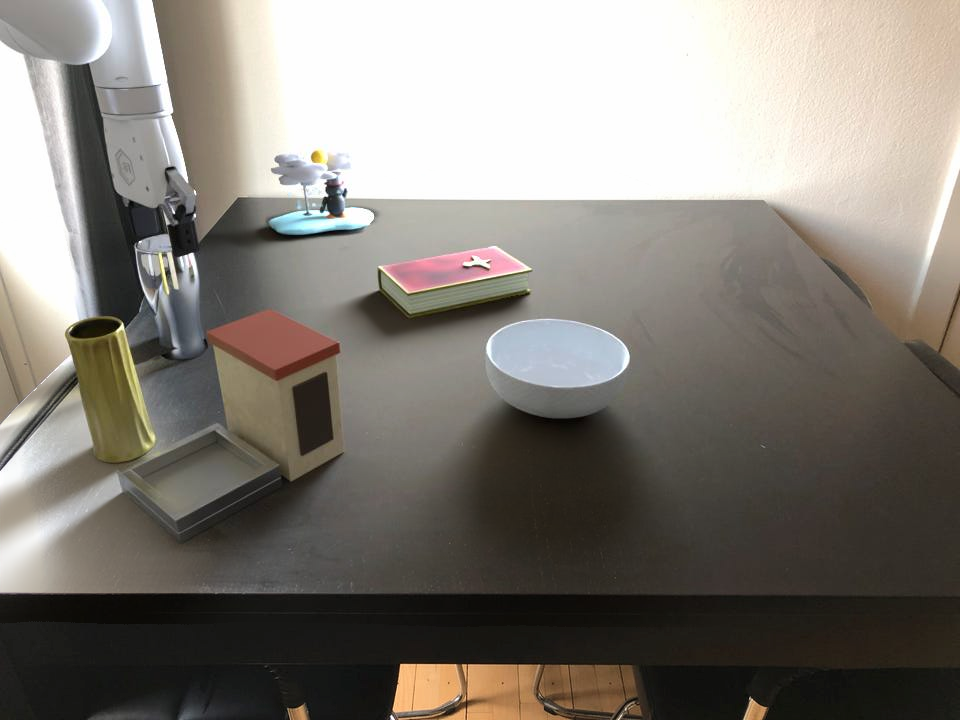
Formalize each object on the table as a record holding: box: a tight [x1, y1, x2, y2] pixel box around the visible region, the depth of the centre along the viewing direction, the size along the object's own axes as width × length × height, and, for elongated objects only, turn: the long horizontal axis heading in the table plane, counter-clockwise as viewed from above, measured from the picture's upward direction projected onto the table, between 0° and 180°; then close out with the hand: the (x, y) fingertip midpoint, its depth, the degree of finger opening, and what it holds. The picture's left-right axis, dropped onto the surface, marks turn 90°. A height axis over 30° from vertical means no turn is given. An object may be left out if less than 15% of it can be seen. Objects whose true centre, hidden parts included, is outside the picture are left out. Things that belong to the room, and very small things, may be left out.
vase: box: [64, 315, 156, 464], centre depth 76 cm, size 6×6×14 cm
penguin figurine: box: [268, 149, 375, 236], centre depth 139 cm, size 20×11×15 cm, turn 108°
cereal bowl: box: [484, 318, 631, 420], centre depth 87 cm, size 17×17×7 cm
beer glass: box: [133, 233, 209, 361], centre depth 95 cm, size 7×7×15 cm
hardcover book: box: [377, 245, 533, 319], centre depth 116 cm, size 12×21×4 cm, turn 118°
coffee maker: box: [116, 308, 346, 544], centre depth 73 cm, size 19×12×13 cm, turn 139°
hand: (166, 244), depth 92 cm, fingers open, 9 cm apart
